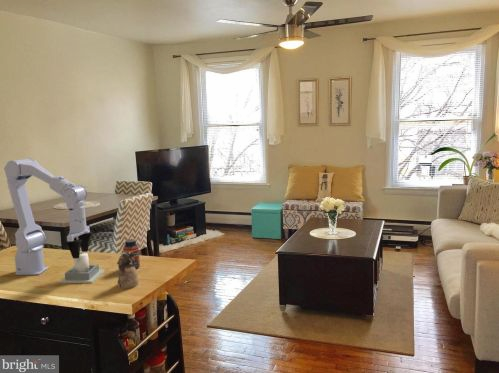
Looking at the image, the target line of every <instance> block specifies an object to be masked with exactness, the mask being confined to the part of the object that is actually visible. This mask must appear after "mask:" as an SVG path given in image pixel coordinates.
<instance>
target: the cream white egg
mask: <svg viewBox="0 0 499 373" xmlns="http://www.w3.org/2000/svg"><path fill="white" fill-rule="evenodd" d="M89 261H90V259H89V254H88V252H80V256H79V258H73V262H74V265H73V266H75V272H88V271H89V265H90V262H89Z"/></svg>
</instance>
